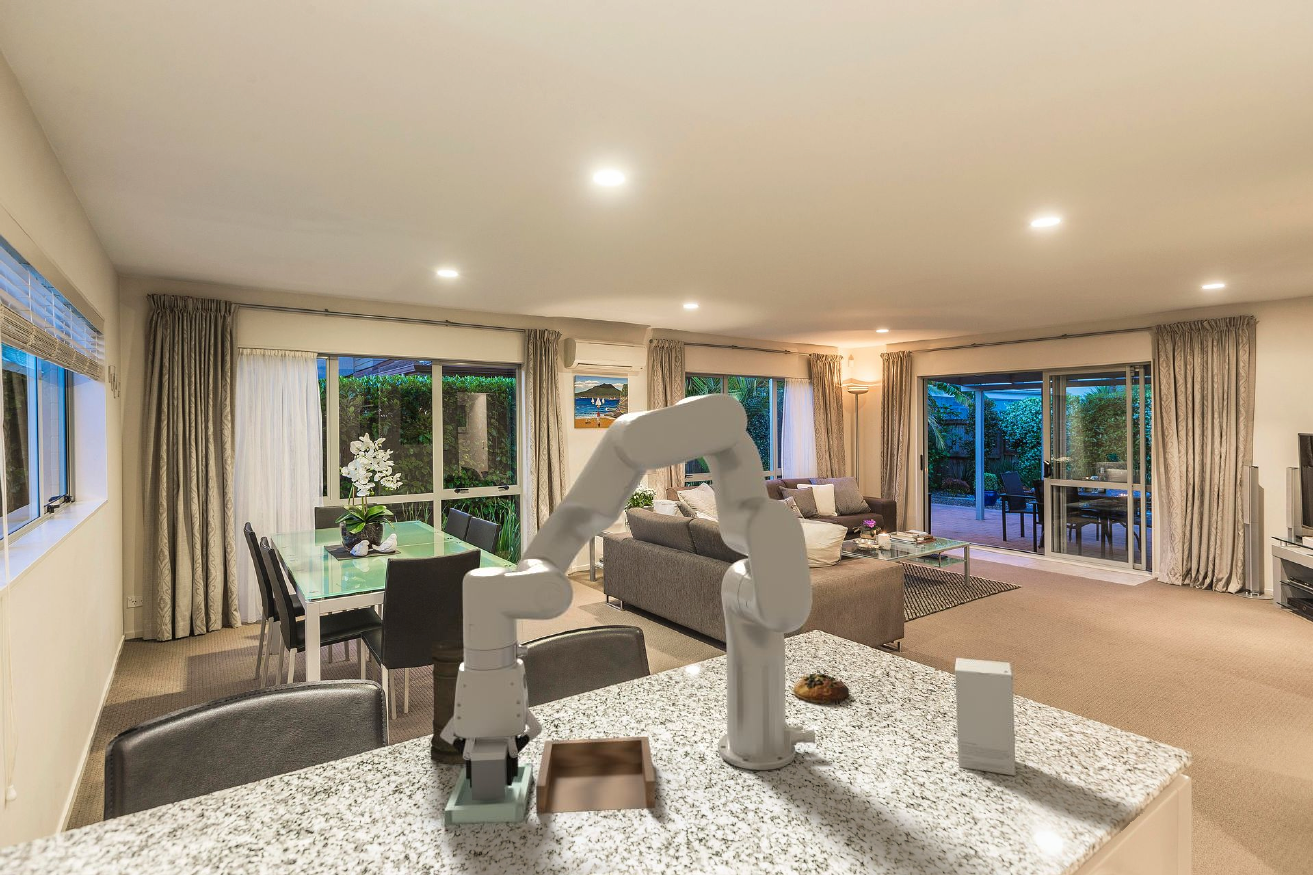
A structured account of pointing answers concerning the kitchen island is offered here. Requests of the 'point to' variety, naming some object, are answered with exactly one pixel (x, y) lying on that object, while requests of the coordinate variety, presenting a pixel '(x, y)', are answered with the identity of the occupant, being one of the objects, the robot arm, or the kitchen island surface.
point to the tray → (489, 801)
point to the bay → (595, 775)
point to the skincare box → (985, 716)
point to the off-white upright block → (489, 768)
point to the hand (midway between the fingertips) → (492, 780)
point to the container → (445, 696)
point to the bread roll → (821, 689)
